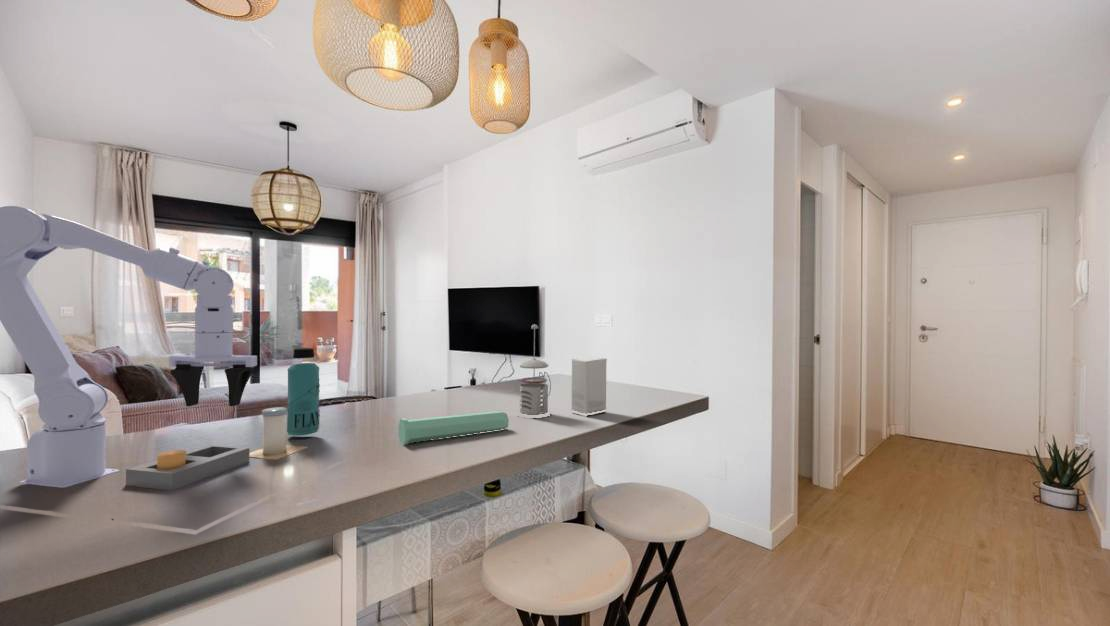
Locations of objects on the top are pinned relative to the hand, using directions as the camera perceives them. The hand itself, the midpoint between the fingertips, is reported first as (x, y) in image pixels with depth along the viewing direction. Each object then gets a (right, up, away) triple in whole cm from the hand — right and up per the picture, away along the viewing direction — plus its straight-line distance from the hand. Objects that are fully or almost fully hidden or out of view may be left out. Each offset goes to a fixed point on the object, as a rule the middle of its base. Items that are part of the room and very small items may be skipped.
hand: (213, 405), depth 87 cm
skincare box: (+73, -11, +44) cm, 86 cm away
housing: (+2, -10, -8) cm, 13 cm away
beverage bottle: (+8, -11, +16) cm, 21 cm away
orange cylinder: (+1, -9, -11) cm, 14 cm away
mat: (+9, -11, +4) cm, 14 cm away
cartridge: (+9, -10, +4) cm, 14 cm away
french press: (+58, -11, +41) cm, 72 cm away
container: (+42, -11, +19) cm, 47 cm away
